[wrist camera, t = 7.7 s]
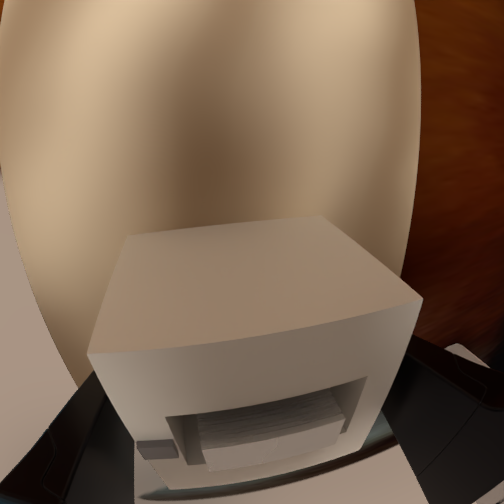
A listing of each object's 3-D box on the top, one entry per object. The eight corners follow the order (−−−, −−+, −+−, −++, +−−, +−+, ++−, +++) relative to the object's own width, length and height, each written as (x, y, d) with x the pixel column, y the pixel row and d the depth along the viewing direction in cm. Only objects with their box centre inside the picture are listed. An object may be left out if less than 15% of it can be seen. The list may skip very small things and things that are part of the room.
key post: (274, 287, 10) (345, 418, 5) (273, 315, 11) (335, 444, 6) (185, 299, 10) (201, 450, 5) (190, 327, 10) (209, 471, 5)
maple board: (379, -60, 6) (398, -71, 5) (360, 352, 15) (373, 370, 14) (39, -59, 4) (27, -74, 2) (98, 391, 13) (94, 414, 11)
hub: (321, 215, 10) (429, 304, 5) (308, 353, 12) (361, 454, 8) (127, 235, 8) (84, 362, 4) (163, 376, 11) (170, 494, 6)
